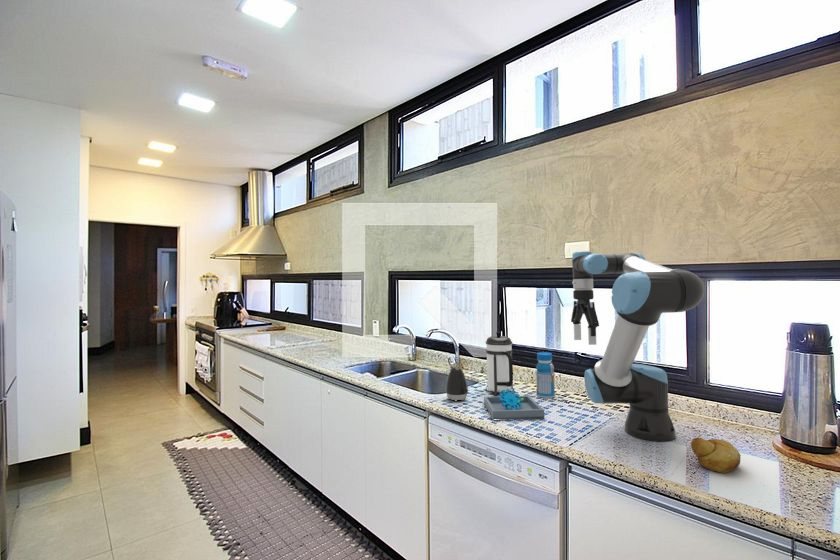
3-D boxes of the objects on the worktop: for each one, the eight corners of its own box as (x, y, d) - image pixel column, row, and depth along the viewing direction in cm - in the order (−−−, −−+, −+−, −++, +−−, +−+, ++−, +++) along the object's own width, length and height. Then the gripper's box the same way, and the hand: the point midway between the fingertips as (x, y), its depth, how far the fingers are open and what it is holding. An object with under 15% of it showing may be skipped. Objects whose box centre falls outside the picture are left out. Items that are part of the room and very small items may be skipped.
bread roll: (714, 455, 117) (713, 428, 118) (752, 468, 109) (751, 439, 109) (688, 464, 112) (687, 436, 112) (726, 479, 103) (725, 448, 103)
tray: (544, 419, 152) (544, 409, 152) (493, 420, 152) (492, 411, 152) (529, 403, 172) (529, 395, 172) (484, 404, 172) (483, 396, 172)
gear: (503, 409, 156) (497, 387, 164) (498, 416, 160) (492, 394, 167) (528, 410, 159) (521, 388, 166) (522, 417, 163) (515, 395, 170)
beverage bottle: (541, 399, 178) (540, 355, 179) (533, 394, 187) (532, 352, 187) (558, 397, 180) (557, 354, 180) (549, 393, 188) (548, 351, 188)
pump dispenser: (462, 395, 187) (461, 363, 187) (471, 401, 177) (471, 367, 177) (442, 397, 184) (441, 365, 184) (451, 404, 174) (450, 369, 174)
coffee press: (478, 394, 188) (476, 332, 189) (492, 387, 201) (490, 328, 202) (512, 399, 178) (511, 334, 179) (525, 391, 191) (523, 330, 192)
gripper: (562, 289, 170) (563, 338, 170) (587, 290, 146) (589, 347, 145) (579, 289, 171) (580, 337, 170) (607, 289, 146) (609, 346, 145)
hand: (584, 342), depth 158 cm, fingers open, 13 cm apart
